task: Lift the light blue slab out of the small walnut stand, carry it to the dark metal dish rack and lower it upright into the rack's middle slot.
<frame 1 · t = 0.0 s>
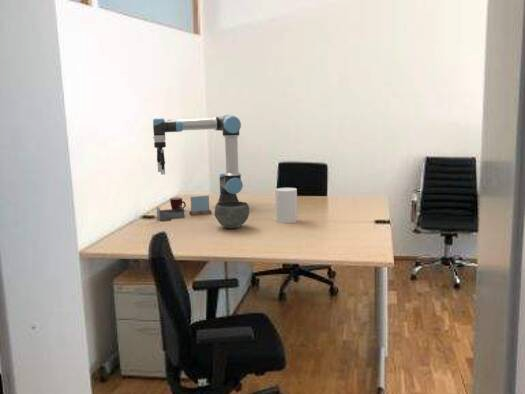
hand: (161, 173, 392), 28 cm above the table, fingers open, 13 cm apart
mug: (178, 212, 400), on the table
canister: (286, 220, 367), on the table
stand: (200, 215, 389), on the table
bowl: (232, 227, 352), on the table
rack: (170, 218, 383), on the table
light blue slab: (200, 213, 389), point 1 cm above the table, touching stand
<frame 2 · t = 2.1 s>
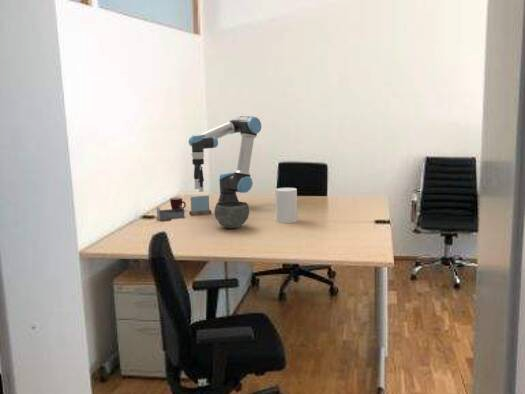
hand: (199, 190, 386), 17 cm above the table, fingers open, 13 cm apart
nothing on the table moved.
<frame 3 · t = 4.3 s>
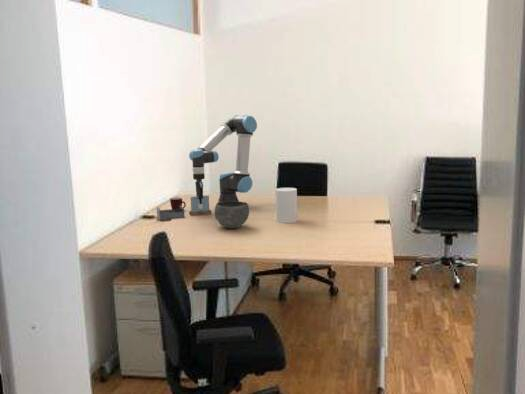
hand: (200, 208, 388), 5 cm above the table, fingers closed on light blue slab, 2 cm apart
light blue slab: (200, 213, 389), point 1 cm above the table, touching gripper, stand
everything else where it was.
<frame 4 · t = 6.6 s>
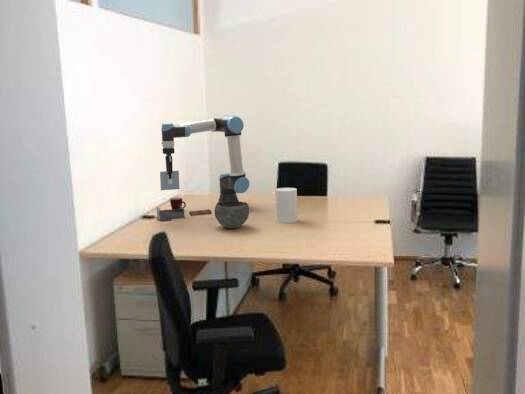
hand: (169, 183, 379), 23 cm above the table, fingers closed on light blue slab, 2 cm apart
light blue slab: (170, 189, 380), point 19 cm above the table, touching gripper
everything else where it was.
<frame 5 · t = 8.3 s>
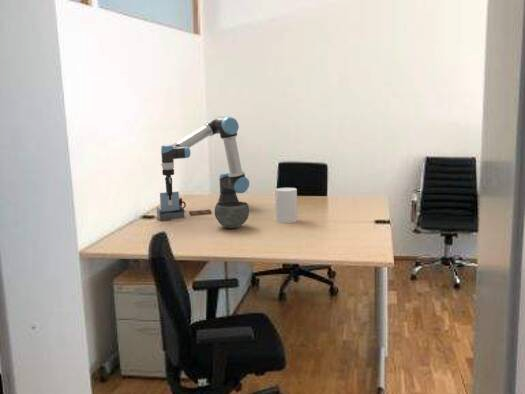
hand: (169, 204, 381), 9 cm above the table, fingers closed on light blue slab, 2 cm apart
light blue slab: (170, 210, 382), point 5 cm above the table, touching gripper
everything else where it was.
when the fingers open (6 cm above the table, at t = 9.3 s): light blue slab drops 1 cm, resting on rack.
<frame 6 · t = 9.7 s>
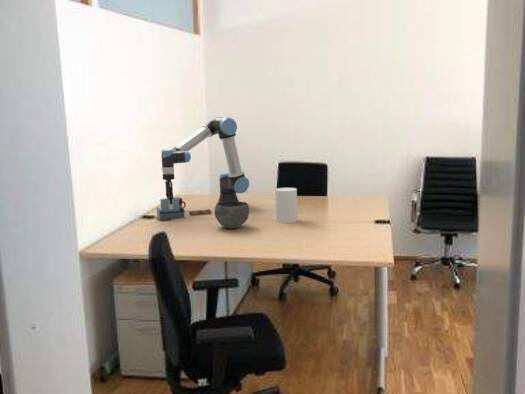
hand: (170, 207, 382), 7 cm above the table, fingers open, 7 cm apart
light blue slab: (170, 216, 383), point 1 cm above the table, touching rack
everything else where it was.
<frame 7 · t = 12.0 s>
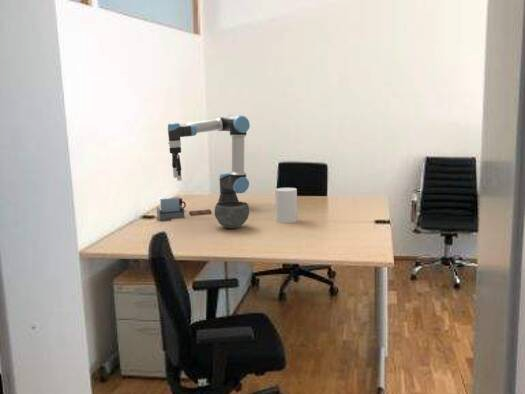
hand: (177, 179, 383), 25 cm above the table, fingers open, 13 cm apart
nothing on the table moved.
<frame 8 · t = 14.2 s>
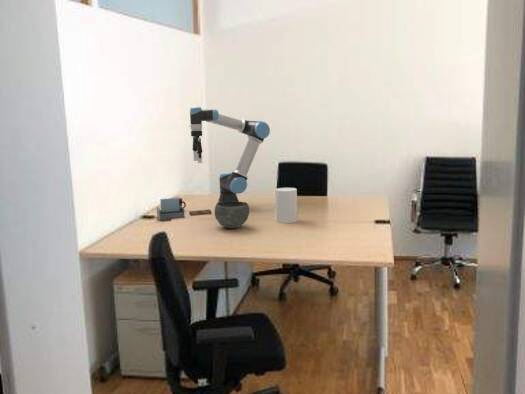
hand: (197, 161, 394), 35 cm above the table, fingers open, 13 cm apart
nothing on the table moved.
at the end: light blue slab 0.0 cm off-centre on the rack, point 1.0 cm above the rack's base; light blue slab tilted 0°; the gripper is holding nothing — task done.
